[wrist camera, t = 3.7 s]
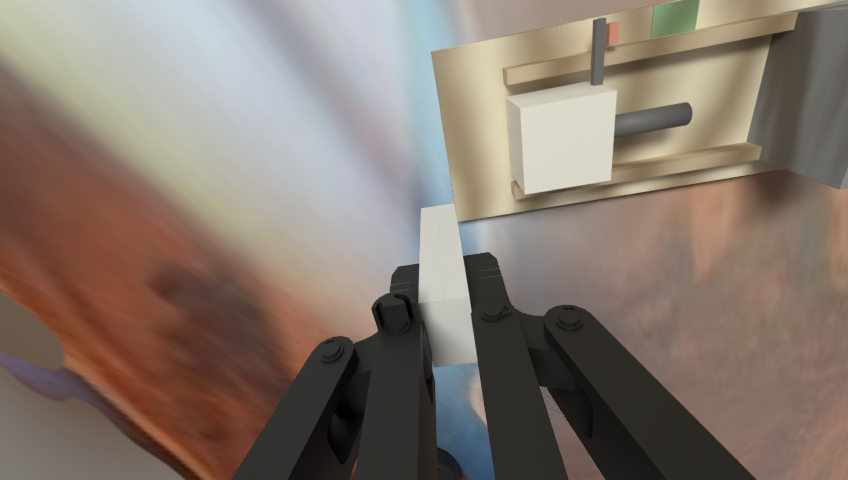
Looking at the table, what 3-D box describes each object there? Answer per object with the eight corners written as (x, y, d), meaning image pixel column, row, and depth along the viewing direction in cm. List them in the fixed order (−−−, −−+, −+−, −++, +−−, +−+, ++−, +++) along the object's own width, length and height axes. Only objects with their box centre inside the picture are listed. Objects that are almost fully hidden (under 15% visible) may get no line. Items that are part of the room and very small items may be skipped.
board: (456, 216, 34) (466, 271, 26) (431, 51, 28) (433, 58, 20) (776, 163, 32) (895, 207, 24) (833, -32, 25) (1026, -64, 17)
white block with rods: (510, 172, 31) (524, 194, 26) (501, 37, 26) (516, 38, 21) (659, 146, 29) (700, 165, 25) (678, 1, 25) (733, -7, 20)
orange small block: (596, 44, 26) (608, 44, 24) (597, 24, 25) (610, 23, 24) (605, 42, 26) (618, 42, 24) (606, 22, 25) (619, 21, 23)
